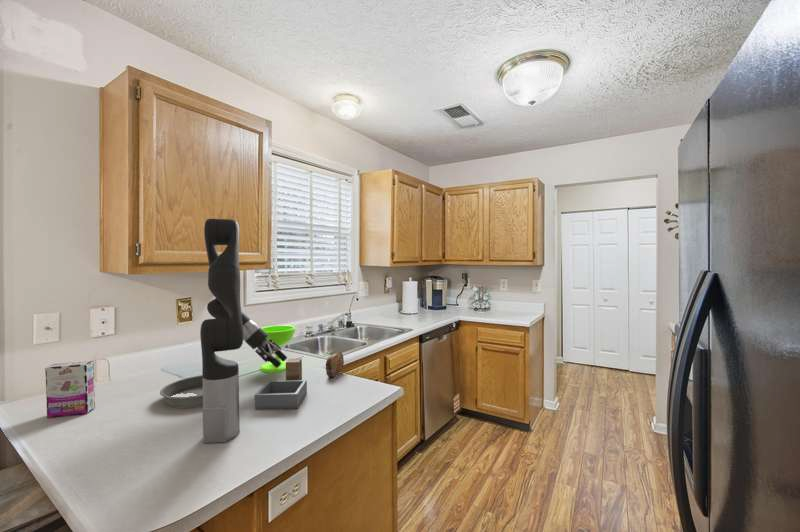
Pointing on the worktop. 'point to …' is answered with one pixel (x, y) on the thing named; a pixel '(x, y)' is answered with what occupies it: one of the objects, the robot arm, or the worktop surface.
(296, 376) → the brown wooden block
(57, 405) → the candy bar box
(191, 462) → the worktop surface
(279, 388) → the box
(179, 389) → the cake pan
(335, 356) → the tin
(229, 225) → the robot arm
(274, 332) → the wineglass
